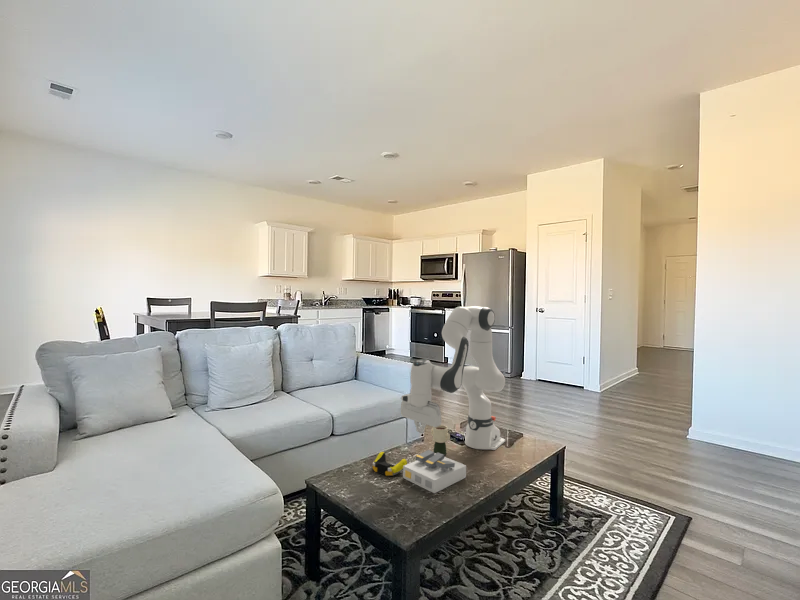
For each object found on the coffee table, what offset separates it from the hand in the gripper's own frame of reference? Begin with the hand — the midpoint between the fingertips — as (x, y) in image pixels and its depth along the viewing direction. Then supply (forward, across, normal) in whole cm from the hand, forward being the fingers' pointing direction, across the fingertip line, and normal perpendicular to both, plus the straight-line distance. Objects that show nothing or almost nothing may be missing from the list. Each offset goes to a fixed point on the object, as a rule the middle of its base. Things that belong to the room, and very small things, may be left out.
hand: (420, 432), depth 165 cm
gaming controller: (+18, +12, +7) cm, 23 cm away
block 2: (+11, -11, -3) cm, 16 cm away
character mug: (+19, +8, -23) cm, 31 cm away
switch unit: (+18, -6, -3) cm, 19 cm away
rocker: (+11, -6, -3) cm, 13 cm away
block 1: (+11, 0, -3) cm, 11 cm away
